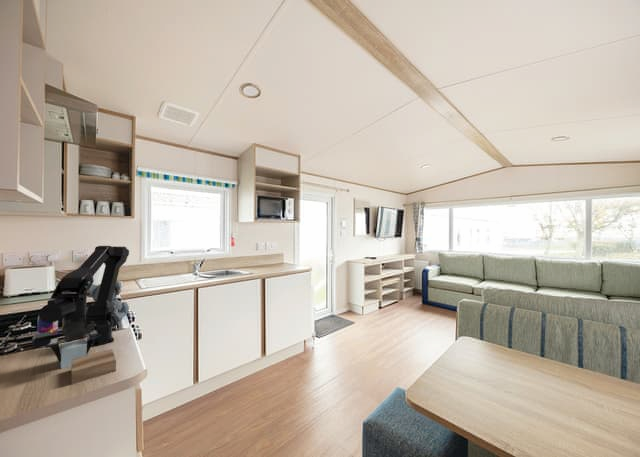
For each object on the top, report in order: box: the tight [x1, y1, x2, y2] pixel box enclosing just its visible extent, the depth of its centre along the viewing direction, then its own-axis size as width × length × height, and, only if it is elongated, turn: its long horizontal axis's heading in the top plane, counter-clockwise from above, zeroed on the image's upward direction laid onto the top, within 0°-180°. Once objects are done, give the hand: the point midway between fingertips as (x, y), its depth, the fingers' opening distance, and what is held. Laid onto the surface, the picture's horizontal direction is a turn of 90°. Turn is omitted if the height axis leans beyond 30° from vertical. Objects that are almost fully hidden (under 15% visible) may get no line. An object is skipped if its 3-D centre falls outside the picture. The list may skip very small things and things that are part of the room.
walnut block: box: [70, 349, 117, 385], centre depth 80 cm, size 10×10×4 cm
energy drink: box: [36, 315, 59, 348], centre depth 97 cm, size 5×5×12 cm
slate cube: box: [59, 338, 88, 369], centre depth 85 cm, size 6×6×6 cm
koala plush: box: [86, 279, 130, 321], centre depth 123 cm, size 17×18×20 cm
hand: (73, 358), depth 85 cm, fingers closed on slate cube, 6 cm apart
